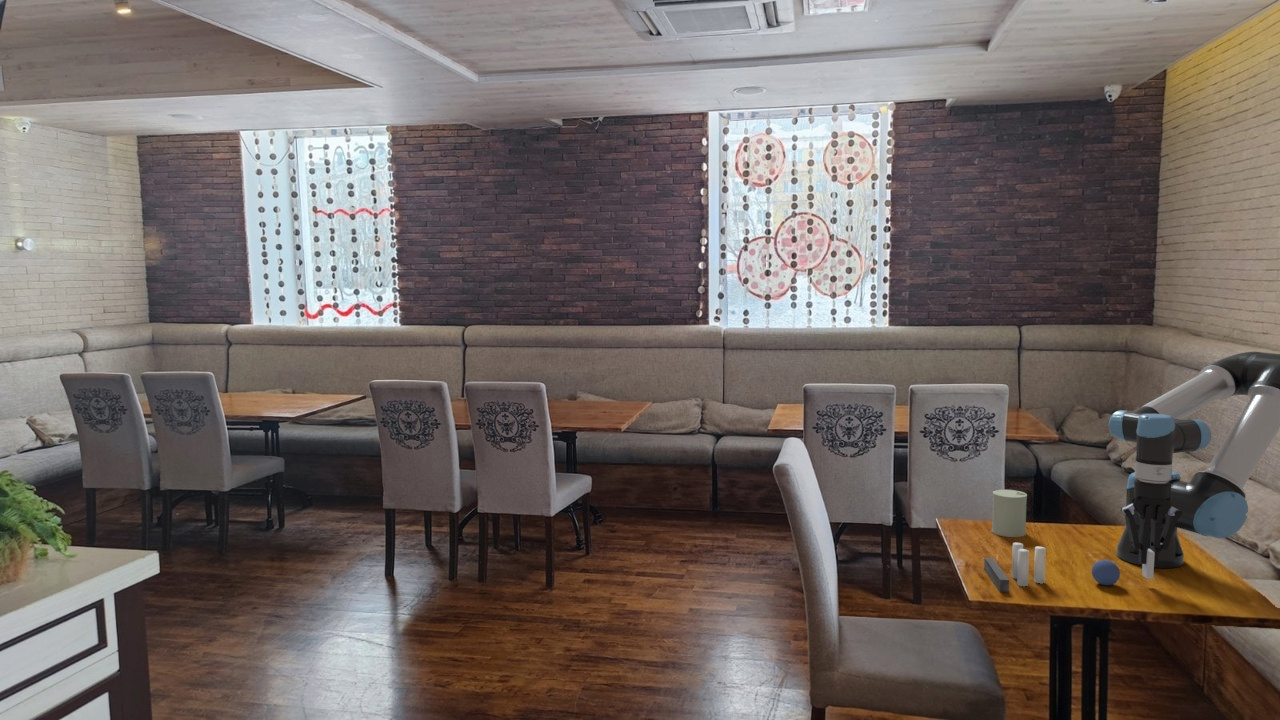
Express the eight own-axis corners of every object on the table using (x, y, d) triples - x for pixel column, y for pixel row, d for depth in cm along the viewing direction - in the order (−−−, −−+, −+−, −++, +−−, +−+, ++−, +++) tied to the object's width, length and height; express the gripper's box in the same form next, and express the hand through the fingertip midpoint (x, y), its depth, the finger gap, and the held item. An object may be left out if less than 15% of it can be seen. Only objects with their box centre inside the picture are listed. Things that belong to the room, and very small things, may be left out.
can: (1029, 538, 249) (1030, 496, 248) (994, 536, 251) (995, 495, 250) (1022, 528, 258) (1023, 488, 257) (988, 527, 260) (989, 487, 259)
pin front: (1042, 580, 216) (1044, 546, 215) (1045, 584, 213) (1047, 549, 212) (1032, 580, 216) (1033, 546, 215) (1035, 583, 214) (1036, 549, 213)
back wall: (992, 569, 224) (992, 557, 224) (1008, 592, 208) (1009, 580, 208) (984, 569, 224) (984, 557, 224) (999, 592, 208) (1000, 579, 208)
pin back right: (1020, 576, 219) (1021, 542, 218) (1023, 579, 216) (1024, 545, 216) (1010, 575, 219) (1011, 542, 218) (1013, 579, 217) (1014, 545, 216)
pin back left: (1026, 583, 214) (1027, 549, 213) (1029, 586, 212) (1030, 552, 211) (1015, 582, 214) (1017, 548, 213) (1018, 586, 212) (1019, 552, 211)
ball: (1113, 580, 215) (1114, 556, 214) (1123, 589, 209) (1124, 565, 208) (1087, 579, 216) (1088, 555, 215) (1096, 588, 210) (1097, 564, 209)
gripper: (1129, 482, 206) (1124, 581, 208) (1190, 484, 204) (1184, 583, 206) (1117, 475, 213) (1112, 570, 215) (1175, 477, 211) (1170, 572, 213)
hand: (1147, 576), depth 211 cm, fingers closed
